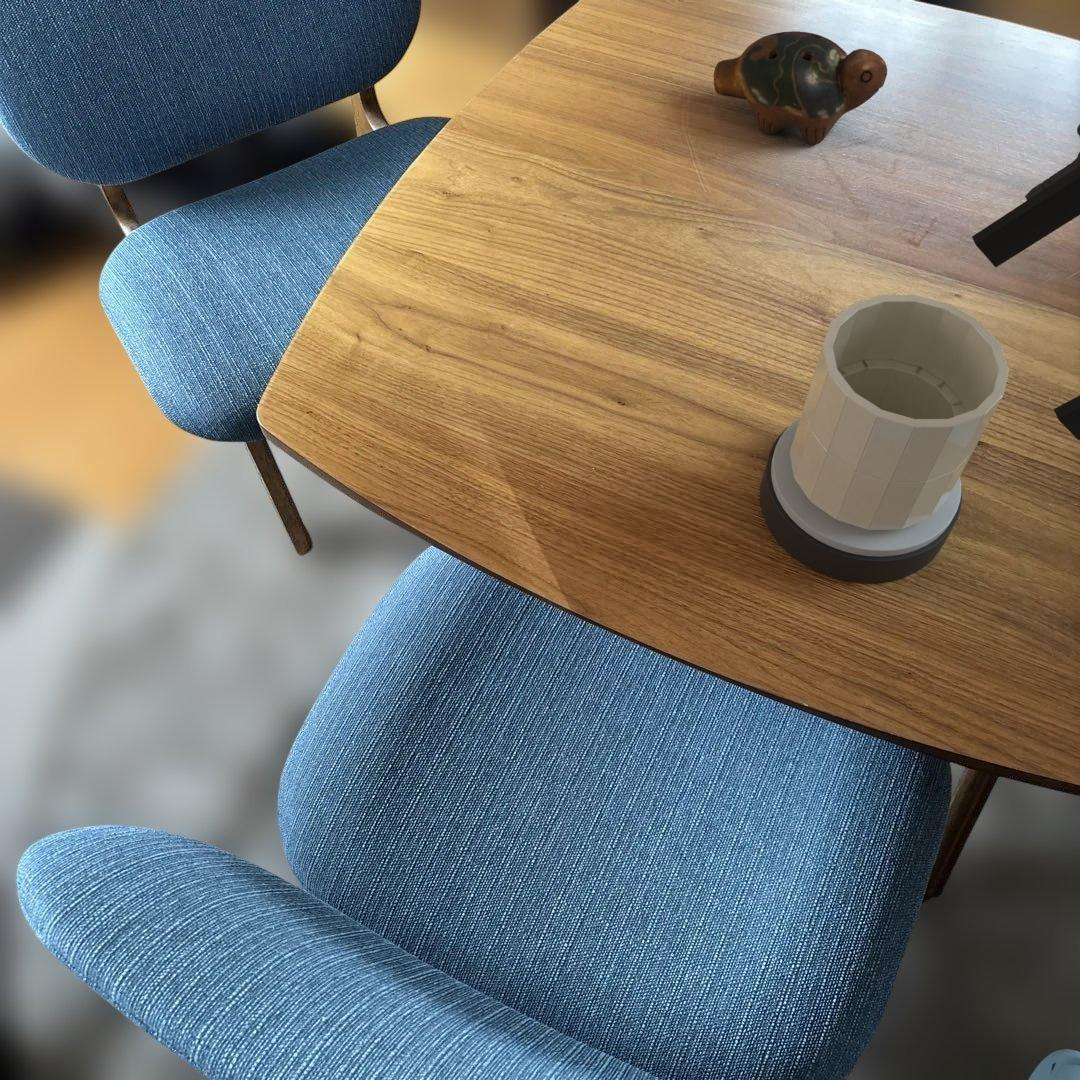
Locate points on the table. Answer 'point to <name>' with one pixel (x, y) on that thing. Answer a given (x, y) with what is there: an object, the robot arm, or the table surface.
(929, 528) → the scale
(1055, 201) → the robot arm
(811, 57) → the decorative turtle
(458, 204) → the table surface
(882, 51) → the table surface
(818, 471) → the faceted beige cup
